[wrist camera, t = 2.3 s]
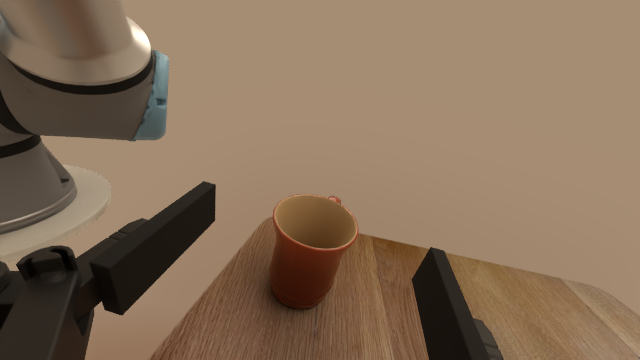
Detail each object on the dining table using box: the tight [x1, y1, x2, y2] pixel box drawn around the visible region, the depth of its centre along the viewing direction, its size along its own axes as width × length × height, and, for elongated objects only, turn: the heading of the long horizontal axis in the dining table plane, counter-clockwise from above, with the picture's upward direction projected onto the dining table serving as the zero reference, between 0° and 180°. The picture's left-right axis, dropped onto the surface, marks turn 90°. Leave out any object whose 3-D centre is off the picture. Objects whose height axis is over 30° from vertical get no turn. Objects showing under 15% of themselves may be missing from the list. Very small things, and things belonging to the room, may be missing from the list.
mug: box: [270, 194, 358, 309], centre depth 27 cm, size 12×9×10 cm
